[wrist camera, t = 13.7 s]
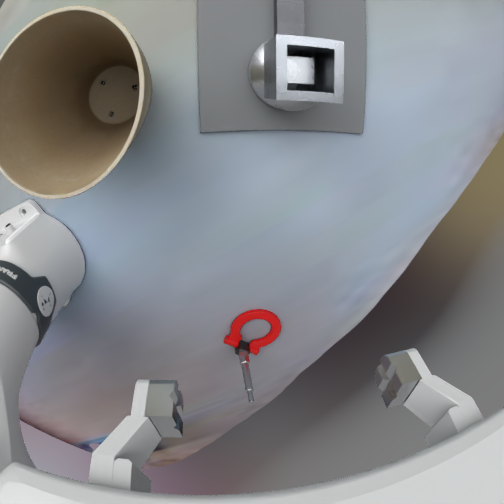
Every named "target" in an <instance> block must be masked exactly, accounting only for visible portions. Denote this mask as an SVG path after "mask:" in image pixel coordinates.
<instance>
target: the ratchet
mask: <svg viewBox="0 0 504 504" xmlns="http://www.w3.org/2000/svg"><path fill="white" fill-rule="evenodd" d="M276 34H280V35H294V36H305V22H304V0H274V36H275V35H276ZM272 38H273V37H272ZM272 38H270V39H268V40H267V41H265V42H264V43H263V44H262V45H261V46H260V47H259V48H258V49H257V50H256V51H255V52H254V54H253V55H252V57H251V59H250V62H249V66H248V78H249V82H250V85H251V87H252V89H253V91H254V92H255V94H256V95H257V96H258V97H259V98H260V99H261V100H262V101H264V102H265V103H267V104H268V105H270V106H273V107H275V108H279V109H282V110H287V111H300V110H305V109H308V108H310V107H312V106H314V105H316V104H317V103H319V102H314V101H294V100H273V99H267V98H264V45H265V44H266V43H267V42H268V41H269V40H271V39H272ZM311 84H314V58H311V56H303V55H288V54H287V90H294V91H311Z"/></svg>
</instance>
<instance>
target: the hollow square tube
mask: <svg viewBox="0 0 504 504" xmlns="http://www.w3.org/2000/svg"><path fill="white" fill-rule="evenodd" d="M287 54H288V55H303V56H311V58H314V84H311V91H294V90H287ZM343 92H344V41H337V40H331V39H323V38H315V37H306V36H294V35H280V34H276V35H275V36H274V37H273V38H272V39H271V40H269V41H268V42H267V43H266V44H265V45H264V98H267V99H273V100H294V101H314V102H328V103H339V104H343Z"/></svg>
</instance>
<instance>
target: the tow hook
mask: <svg viewBox="0 0 504 504" xmlns="http://www.w3.org/2000/svg"><path fill="white" fill-rule="evenodd" d="M253 319H264V320H267V321H268V322H269V323H270V324H271V325H272V327H271V331H270V332H269V334H268V335H266V336H265V337H263V338H261V339H257V340H252V341H251V342H250V344H249V343H247V342H244V341H242V340H241V339H242V335H241V334H240V329H241V327H242V326H243V324H245V323H246V322H248V321H250V320H253ZM280 331H281V324H280V320H279V319H278V317H277V316H276V315H275V314H274V313H272V312H270V311H267V310H262V309H256V310H250V311H247V312H245V313H243V314H241V315H239V316H238V317H237V318H236V319H235V320H234V321H233V323H232V325H231V334H230V335H229V336H226V337H225V338H224V343H225V344H228V345H231V346H233V347H235V353H236V354H237V355H239V359H240V365H241V366H242V371H243V377H244V384H245V390H246V393H248V399H249V403H254V398H253V391H254V390H253V385H252V380H251V374H250V369H249V363H250V362H249V356H248V355H249V353H253V354H255V355H257V354H258V352H259V349H260V348H261V347H263V346H266V345H268V344H270V343H271V342H273V341H274V340H275V339H276V338H277V337H278V335H279V333H280Z"/></svg>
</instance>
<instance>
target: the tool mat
mask: <svg viewBox="0 0 504 504" xmlns="http://www.w3.org/2000/svg"><path fill="white" fill-rule="evenodd" d="M304 22H305V36H306V37H315V38H323V39H331V40H337V41H344V92H343V104H339V103H328V102H319V103H317V104H316V105H314V106H312V107H310V108H308V109H305V110H300V111H287V110H282V109H279V108H275V107H273V106H270V105H268V104H267V103H265V102H264V101H262V100H261V99H260V98H259V97H258V96H257V95H256V94H255V92H254V91H253V89H252V87H251V85H250V82H249V78H248V66H249V62H250V59H251V57H252V55H253V54H254V52H255V51H256V50H257V49H258V48H259V47H260V46H261V45H262V44H263V43H264V42H265V41H267V40H268V39H270V38H272V37H274V0H198V75H199V104H200V127H201V133H202V132H217V131H239V130H311V131H333V132H348V133H361V134H363V128H364V113H365V92H366V17H365V0H304Z"/></svg>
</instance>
